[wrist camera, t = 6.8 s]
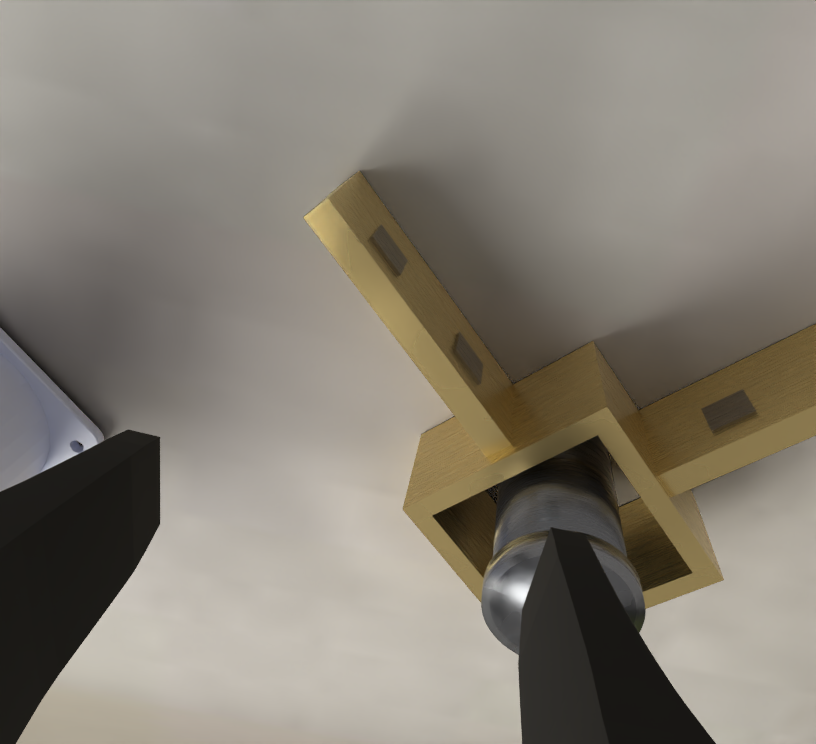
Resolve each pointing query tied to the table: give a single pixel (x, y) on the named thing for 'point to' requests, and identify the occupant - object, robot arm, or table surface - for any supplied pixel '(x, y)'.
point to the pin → (563, 509)
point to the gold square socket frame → (562, 413)
